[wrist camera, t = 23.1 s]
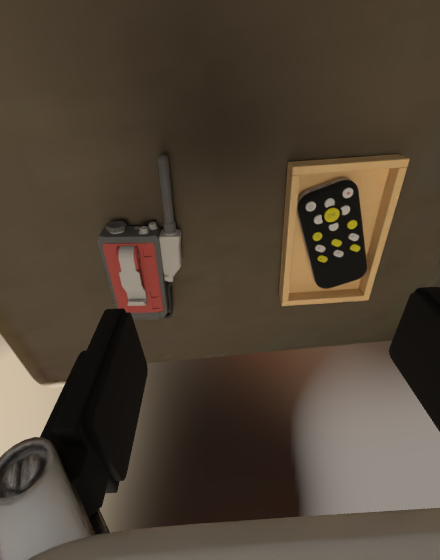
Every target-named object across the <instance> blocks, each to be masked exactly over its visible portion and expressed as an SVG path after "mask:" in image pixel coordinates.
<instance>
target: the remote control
mask: <svg viewBox="0 0 440 560" xmlns="http://www.w3.org/2000/svg"><path fill="white" fill-rule="evenodd" d="M297 214H298V218H299V222H300V226H301V230H302V234H303V238H304V242H305V246H306V250H307V254H308V258H309V262H310V266H311V270H312V274H313V278H314V281H315V283H316V284H317V285H318V286H319V287H320V288H323V289H329V288H333V287H336V286H339V285H342V284H346V283H349V282H352V281H355V280H358V279H360V278H361V277H363V276H364V274H365V273H366V271H367V260H366V251H365V243H364V234H363V225H362V216H361V208H360V199H359V190H358V187H357V185H356V184H355V183H354V182H353V181H351V180H350V179H347V178H339V179H336V180H334V181H331V182H328V183H326V184H323V185H320V186H318V187H315V188H312V189H310V190H307V191H305V192H303V193H302V194H301V195H300V196H299V198H298V203H297Z"/></svg>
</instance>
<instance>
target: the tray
mask: <svg viewBox="0 0 440 560" xmlns="http://www.w3.org/2000/svg"><path fill="white" fill-rule="evenodd" d="M408 163H409V158H406V157H404V156H401V155H399V154H393V155H379V156H365V157H351V158H337V159H323V160H309V161H295V162H288V167H287V181H286V196H285V210H284V225H283V239H282V254H281V269H280V283H279V299H280V302H281V305H282V306H291V305H306V304H320V303H335V302H349V301H364V300H369V296H370V293H371V290H372V286H373V283H374V279H375V276H376V273H377V269H378V266H379V262H380V259H381V255H382V252H383V249H384V245H385V242H386V238H387V235H388V232H389V228H390V225H391V221H392V218H393V214H394V211H395V208H396V204H397V201H398V197H399V194H400V191H401V187H402V184H403V180H404V177H405V173H406V170H407V166H408ZM339 178H347V179H350V180H351V181H353V182H354V183H355V184H356V185H357V187H358V190H359V199H360V208H361V216H362V225H363V234H364V243H365V251H366V260H367V271H366V273H365V274H364V276H363V277H361V278H360V279H358V280H355V281H352V282H349V283H346V284H342V285H339V286H336V287H333V288H329V289H323V288H320V287H319V286H318V285H317V284H316V283H315V281H314V278H313V274H312V270H311V266H310V262H309V258H308V254H307V250H306V246H305V242H304V238H303V234H302V230H301V226H300V222H299V218H298V214H297V203H298V198H299V196H300V195H301V194H302V193H303V192H305V191H307V190H310V189H312V188H315V187H318V186H320V185H323V184H326V183H328V182H331V181H334V180H336V179H339Z"/></svg>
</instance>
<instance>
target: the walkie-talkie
mask: <svg viewBox="0 0 440 560" xmlns="http://www.w3.org/2000/svg"><path fill="white" fill-rule="evenodd" d="M157 161H158V170H159V178H160V187H161V196H162V204H163V213H164V222H163V227H164V229H161V228H160V227H159V226H157V225H156V222H150V223H149V226H127V224H126V223H125V222H123V221H114V222H110V223H108V224H107V225H106V227H105V228H104V229H103V231H102V232H101V234H100V235H99V237H98V239H97V242H98V246H99V249H100V253H101V257H102V261H103V265H104V268H105V272H106V274H107V278H108V282H109V286H110V290H111V293H112V297H113V301H114V304H115V306H114V307H115V308H116V309H120V308H123V309H125V311H126V312H130V313H131V315H132V317H133V319H161V318H163V317H164V318H169V317H171V316H172V313H173V306H172V298H171V288H170V286H171V284H172V282H173V279H174V275H175V274H176V272H177V271H178V270H179V268H180V267H181V262H182V255H181V241H180V240H181V230H180V229H176V223H175V221H174V216H173V205H172V194H171V183H170V172H169V162H168V158H167V156H165V155H160V156H159V157H158V159H157ZM167 282H168V283H167ZM168 310H170V312H169V313H168Z"/></svg>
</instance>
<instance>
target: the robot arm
mask: <svg viewBox="0 0 440 560" xmlns="http://www.w3.org/2000/svg"><path fill="white" fill-rule="evenodd" d="M389 353H390V357H391V359H392V360H393V362H394V363H395V365H396V366H397V368H398V369H399V371H400V372H401V374H402V375H403V377H404V378H405V380H406V382H407V383H408V385H409V386H410V388H411V389H412V391H413V392H414V394H415V395H416V397H417V398H418V400H419V401H420V403H421V404H422V406H423V407H424V409H425V410H426V412H427V413H428V415H429V416H430V418H431V419H432V421H433V422H434V424H435V425H436V427H437V428H438V430H439V431H440V287H425V288H418V289H416V290H415V292H414V293H412V294H411V295H410V297H409V300H408V302H407V305H406V307H405V310H404V312H403V315H402V317H401V320H400V323H399V325H398V328H397V330H396V333H395V335H394V338H393V340H392V343H391V346H390V349H389ZM146 378H147V363H146V360H145V357H144V353H143V350H142V347H141V343H140V340H139V337H138V334H137V330H136V327H135V324H134V321H133V317H132V315H131V313H130V312H126V311H125V309H123V308H120V309H107V310H105V311H104V313H103V315H102V318H101V320H100V322H99V324H98V326H97V329H96V331H95V333H94V335H93V338H92V340H91V342H90V344H89V346H88V349H87V351H82V352H81V353H80V354H79V356H78V358H77V360H76V362H75V364H74V366H73V368H72V370H71V373H70V375H69V377H68V379H67V381H66V383H65V385H64V387H63V390H62V392H61V394H60V396H59V398H58V400H57V402H56V404H55V406H54V409H53V411H52V413H51V415H50V417H49V419H48V421H47V424H46V426H45V428H44V430H43V432H42V434H41V436H40V437H39V438H38V437H34V438H30V439H27V440H24V441H22V442H20V443H18V444H16V445H14V446H13V447H12V448H10V449H9V450H8V451H6V452H5V453H4V454H3V455H2V456H1V457H0V560H440V508H433V509H432V508H431V509H415V510H399V511H384V512H369V513H352V514H337V515H322V516H306V517H291V518H278V519H262V520H247V521H233V522H220V523H204V524H190V525H179V526H170V527H169V526H168V527H157V528H146V529H135V530H126V531H119V532H112V533H110V531H109V529H108V527H107V525H106V523H105V520H104V518H103V516H102V514H101V512H100V509H99V508H100V507H101V506H102V504H103V500H104V496H105V493H116V492H117V490H118V486H119V481H123V480H124V479H125V477H126V474H127V470H128V465H129V460H130V455H131V451H132V446H133V441H134V436H135V431H136V427H137V422H138V417H139V412H140V407H141V402H142V397H143V392H144V388H145V382H146Z"/></svg>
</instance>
